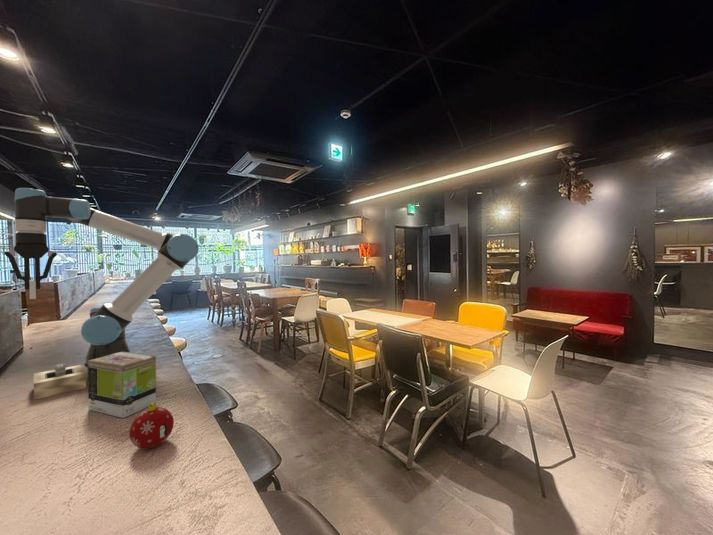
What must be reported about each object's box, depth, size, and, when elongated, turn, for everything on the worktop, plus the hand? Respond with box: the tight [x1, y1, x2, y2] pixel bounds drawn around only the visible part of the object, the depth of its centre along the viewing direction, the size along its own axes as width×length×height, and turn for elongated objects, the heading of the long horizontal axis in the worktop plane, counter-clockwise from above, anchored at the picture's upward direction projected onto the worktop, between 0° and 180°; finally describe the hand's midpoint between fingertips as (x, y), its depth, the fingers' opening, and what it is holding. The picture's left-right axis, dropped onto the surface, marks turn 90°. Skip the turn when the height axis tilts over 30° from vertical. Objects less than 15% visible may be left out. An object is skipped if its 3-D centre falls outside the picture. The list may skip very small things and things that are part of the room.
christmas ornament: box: [129, 403, 175, 450], centre depth 70 cm, size 9×9×10 cm
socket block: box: [33, 364, 87, 400], centre depth 100 cm, size 12×12×5 cm
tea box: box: [87, 351, 157, 419], centre depth 88 cm, size 15×10×15 cm
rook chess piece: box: [53, 362, 68, 377], centre depth 101 cm, size 4×4×8 cm
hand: (32, 298), depth 107 cm, fingers closed
